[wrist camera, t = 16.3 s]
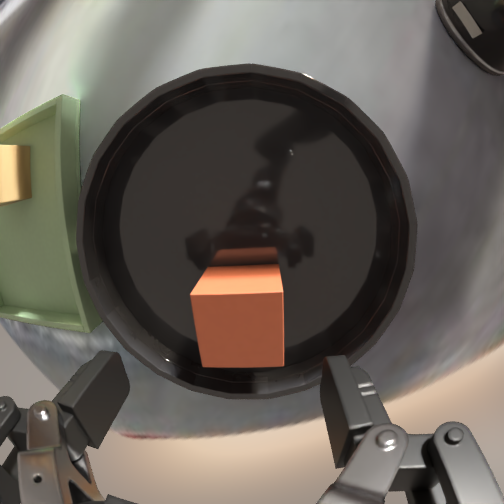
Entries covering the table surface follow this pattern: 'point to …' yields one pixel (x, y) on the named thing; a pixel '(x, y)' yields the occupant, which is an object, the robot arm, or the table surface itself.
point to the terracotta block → (240, 316)
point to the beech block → (14, 174)
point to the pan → (246, 221)
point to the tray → (46, 224)
